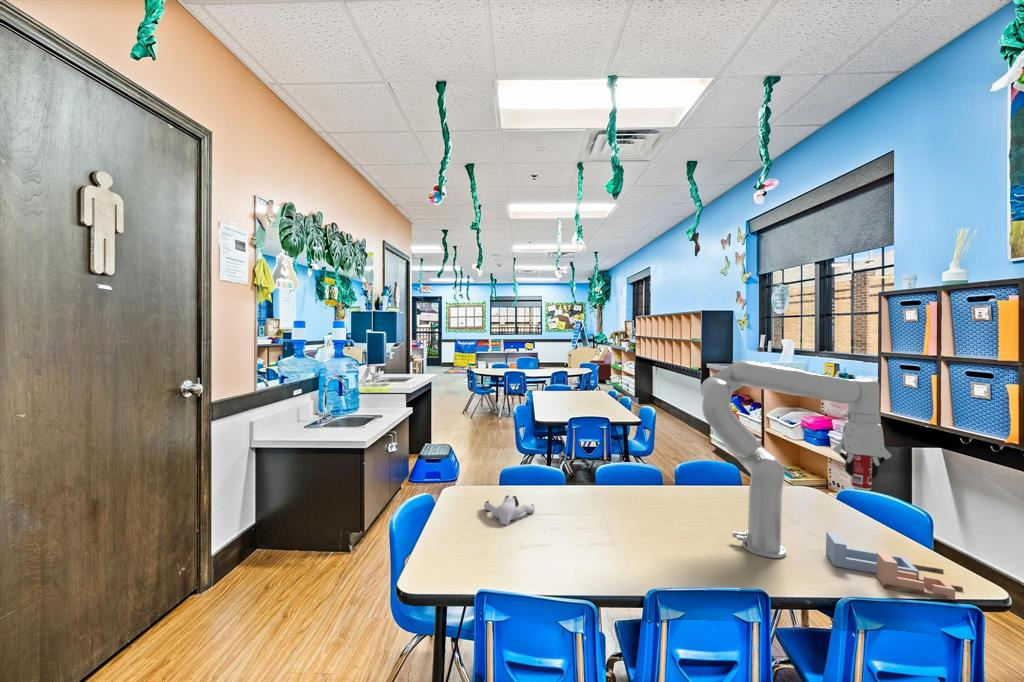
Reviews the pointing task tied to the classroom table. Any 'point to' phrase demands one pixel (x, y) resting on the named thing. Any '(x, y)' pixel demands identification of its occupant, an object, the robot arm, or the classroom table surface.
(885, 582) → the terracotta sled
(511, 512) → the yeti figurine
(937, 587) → the broken frame end
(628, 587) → the classroom table surface
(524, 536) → the classroom table surface
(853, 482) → the soda can
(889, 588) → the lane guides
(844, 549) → the frame
